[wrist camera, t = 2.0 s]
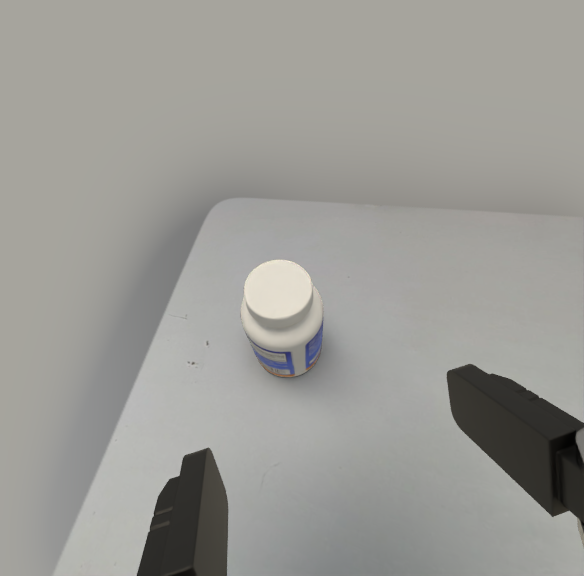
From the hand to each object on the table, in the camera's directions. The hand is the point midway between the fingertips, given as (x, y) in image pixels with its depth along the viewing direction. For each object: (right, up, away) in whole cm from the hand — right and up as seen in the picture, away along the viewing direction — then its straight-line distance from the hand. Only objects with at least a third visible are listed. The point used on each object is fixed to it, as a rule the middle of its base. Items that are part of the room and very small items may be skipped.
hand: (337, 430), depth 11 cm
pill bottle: (-2, 0, +17) cm, 17 cm away
